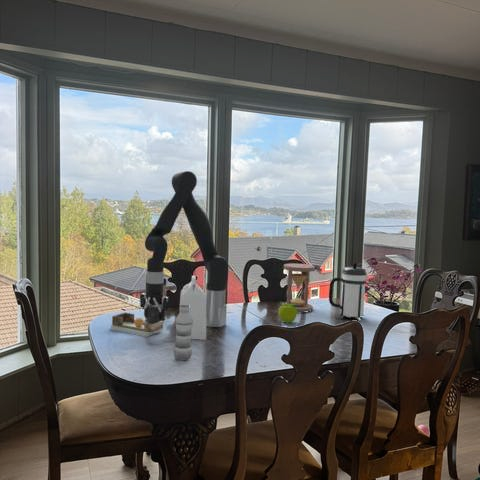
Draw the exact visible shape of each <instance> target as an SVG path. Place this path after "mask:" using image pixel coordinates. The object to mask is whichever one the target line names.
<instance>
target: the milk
mask: <svg viewBox="0 0 480 480" xmlns="http://www.w3.org/2000/svg"><path fill="white" fill-rule="evenodd" d="M196 280H197V278H196V275H191V281H190V282H189V283H187V284H185V285H184V286H183V288H182V289H181V290H180V295H179V296H180V299H179V307H180V306H181V305H188V306H190V311H189V313H190V315H191V316H192V318H193V325H192V331H191V339H200V340H207V326H206V292H205V291H204V290H203V288H201V287H200V285H199V284H197V281H196ZM178 311H179V310H178ZM179 313H180V311H179ZM179 313H178V314H179Z"/></svg>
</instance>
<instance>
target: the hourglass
mask: <svg viewBox="0 0 480 480" xmlns="http://www.w3.org/2000/svg"><path fill="white" fill-rule="evenodd" d="M283 269H284V270H286V271H287V273H288V274H287V281H286V284H287V290H286V302H285V303H286V304H290V305H291V304H297V305H294V306H295V308H296V309H297V312H304V311H310V310H312V309H313V310H314V307H313V305H312V304H308V301H309V294H310V291H309V284H310V273H311V272H314V271H316V266H315V265H312V264H305V263H285V264H283ZM293 272H298V273H293ZM299 272H300V273H299ZM301 272H302V273H301ZM293 282H294V284H295V285H296V289H298V290H299V289H300V288H301V285H302V284H303V283H304V289H303V299H301V298H299V297H295V298H293V299H292V296H293V292H292V286H293ZM281 305H284V304H283V303H281ZM313 310H312V311H313Z"/></svg>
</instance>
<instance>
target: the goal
mask: <svg viewBox="0 0 480 480" xmlns="http://www.w3.org/2000/svg"><path fill="white" fill-rule="evenodd" d="M111 319H112V320H111V322H112V323H111V326H112V325H115V326H120V327H121V325H123V322H125V321H126V322H131V323H134V320H135V313H130V312H122V313H118V314H115V315H112V318H111Z"/></svg>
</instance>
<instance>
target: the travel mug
mask: <svg viewBox="0 0 480 480" xmlns="http://www.w3.org/2000/svg"><path fill="white" fill-rule="evenodd" d="M163 297H167V278H164V285H163ZM162 303H163V299H162ZM153 305H154V304H151V305H150V306H153ZM159 305H160V304H159ZM165 319H166V311H164V318H163V320H160V321H163V322H164V321H165Z"/></svg>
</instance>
